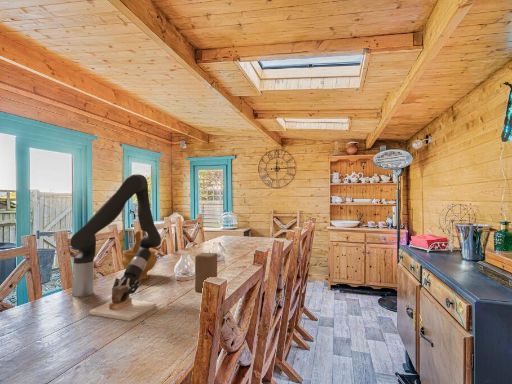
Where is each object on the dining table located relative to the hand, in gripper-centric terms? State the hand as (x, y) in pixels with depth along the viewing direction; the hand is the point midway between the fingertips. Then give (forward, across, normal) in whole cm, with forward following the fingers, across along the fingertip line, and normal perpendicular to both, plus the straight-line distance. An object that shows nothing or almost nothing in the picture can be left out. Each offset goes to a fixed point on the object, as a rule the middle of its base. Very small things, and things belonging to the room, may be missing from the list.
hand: (117, 300), depth 139 cm
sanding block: (+1, 0, +4) cm, 4 cm away
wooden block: (-25, +24, +33) cm, 48 cm away
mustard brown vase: (-32, -28, +39) cm, 58 cm away
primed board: (+2, +2, +5) cm, 6 cm away
